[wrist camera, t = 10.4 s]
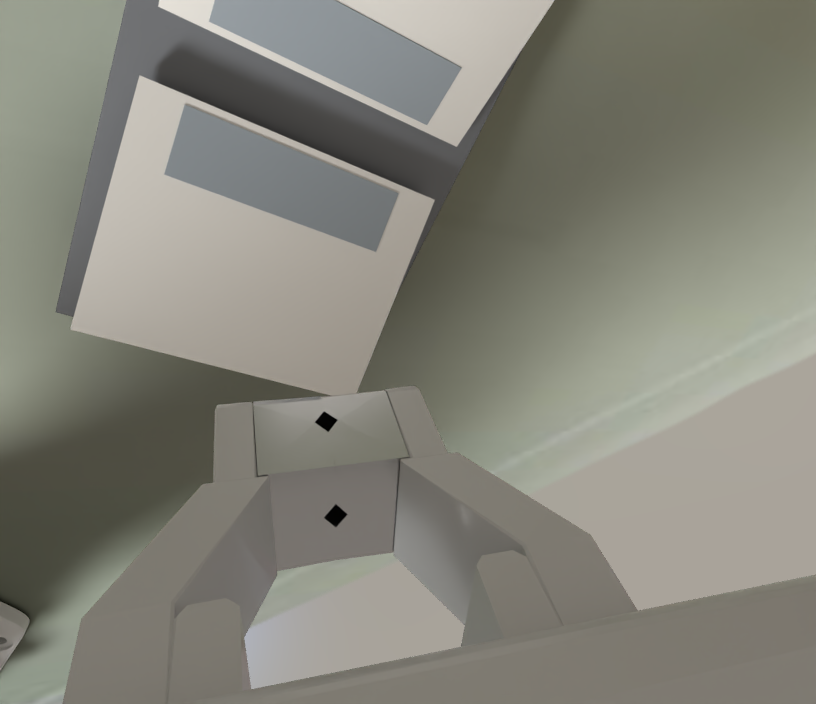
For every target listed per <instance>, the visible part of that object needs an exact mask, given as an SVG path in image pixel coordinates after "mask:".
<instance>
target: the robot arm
mask: <svg viewBox="0 0 816 704" xmlns="http://www.w3.org/2000/svg"><path fill="white" fill-rule="evenodd" d="M253 409H254V412H253ZM392 552H394V556H395V557H396V558H397V559H398V560H399V561H400V562H401V563H402V564H403V565H404V566H405V567H406V568H407V569H408V570H409V571H410V572H411V573H412V574H413V575H414V576H415V577H416V578H417V579H418V580H419V581H420V582H421V583H422V584H423V585H425V587H426V588H427V589H429V591H430V592H432V594H433V595H435V597H436V598H437V599H438V600H439V601H441V602H442V603H443V604H444V605H445V606H446V607H447V608H448V609H449V610H450V611H451V612H452V613H453V614H454V615H455V616H456V617H457V618H458V619H459V620H460V621H461V622H462V623H463V624H464V625H465V628H464V633H463V639H462V644H461V647H459V648H453V649H449V650H444V651H439V652H434V653H429V654H424V655H419V656H414V657H409V658H404V659H400V660H394V661H389V662H384V663H379V664H375V665H370V666H365V667H360V668H355V669H350V670H345V671H340V672H335V673H330V674H326V675H320V676H315V677H310V678H306V679H300V680H295V681H291V682H286V683H281V684H276V685H271V686H266V687H261V688H256V689H251V685H250V677H249V670H248V663H247V655H246V648H245V640H244V637H245V635H246V633H247V631H248V629H249V627H250V625H251V623H252V622H253V620H254V618H255V616H256V614H257V612H258V610H259V608H260V606H261V604H262V603H263V601H264V599H265V597H266V595H267V593H268V591H269V589H270V587H271V585H272V584H273V582H274V580H275V578H276V576H277V571H280V570H285V569H290V568H296V567H301V566H306V565H312V564H317V563H322V562H328V561H333V560H340V559H347V558H355V557H362V556H370V555H377V554H385V553H392ZM28 625H29V618H28V617H27V616H26V615H25V614H24V613H22V612H21V611H19V610H17V609H15V608H13V607H11V606H9V605H7V604H5V603H2V602H0V670H1V669H2V667H3V666H4V664H5V663H6V661H7V660H8V658H9V657H10V655H11V654H12V652H13V651H14V650H15V648H16V647H17V645H18V644H19V642H20V641H21V639H22V638H23V636H24V634H25V632H26V629H27V627H28ZM63 704H816V575H812V576H808V577H802V578H797V579H792V580H787V581H782V582H777V583H772V584H768V585H762V586H757V587H753V588H748V589H743V590H738V591H733V592H728V593H723V594H718V595H713V596H708V597H703V598H699V599H693V600H688V601H683V602H679V603H674V604H669V605H664V606H659V607H654V608H649V609H645V610H639V611H638V610H637V609H636V607H635V605H634V604H633V602H632V601H631V599H630V597H629V596H628V594H627V593H626V591H625V589H624V588H623V586H622V584H621V583H620V581H619V579H618V578H617V576H616V575H615V573H614V572H613V570H612V568H611V567H610V565H609V563H608V562H607V560H606V558H605V557H604V555H603V554H602V552H601V550H600V549H599V547H598V546H597V544H596V542H595V541H594V539H593V538H592V536H591V535H590V534H588V533H587V532H585V531H583V530H582V529H580V528H579V527H577V526H575V525H574V524H572V523H571V522H569V521H567V520H566V519H564V518H562V517H561V516H559V515H558V514H556V513H554V512H553V511H551V510H549V509H548V508H546V507H545V506H543V505H542V504H540V503H538V502H537V501H535V500H533V499H532V498H530V497H529V496H527V495H525V494H524V493H522V492H521V491H519V490H517V489H516V488H514V487H513V486H511V485H509V484H508V483H506V482H504V481H503V480H501V479H500V478H498V477H496V476H495V475H493V474H492V473H490V472H488V471H487V470H485V469H483V468H482V467H480V466H479V465H477V464H475V463H474V462H472V461H471V460H469V459H467V458H466V457H464V456H462V455H461V454H459V453H458V452H455V453H448V452H447V450H446V448H445V445H444V443H443V441H442V439H441V436H440V434H439V432H438V430H437V427H436V425H435V423H434V421H433V419H432V416H431V414H430V412H429V410H428V407H427V405H426V403H425V401H424V398H423V396H422V394H421V392H420V389H419V388H418V387H416V386H415V385H414V386H406V387H398V388H390V389H384V391H374V392H364V393H354V394H344V395H334V396H324V397H320V396H318V397H305V398H292V399H279V400H266V401H253V404H252V403H251V402H243V403H232V404H221V405H217V407H216V409H215V427H214V467H213V483H207V484H202V485H201V486H200V487H199V488H198V489H197V490H196V492H195V493H194V494H193V495H192V496H191V497H190V498H189V499H188V501H187V502H186V503H185V504H184V505H183V506H182V507H181V508H180V509H179V511H178V512H177V513H176V514H175V515H174V516H173V517H172V518H171V520H170V521H169V522H168V523H167V524H166V525H165V526H164V527H163V528H162V530H161V531H160V532H159V533H158V534H157V535H156V536H155V537H154V538H153V540H152V541H151V542H150V543H149V544H148V545H147V546H146V547H145V549H144V550H143V551H142V552H141V553H140V554H139V555H138V556H137V557H136V559H135V560H134V561H133V562H132V563H131V564H130V565H129V566H128V568H127V569H126V570H125V571H124V572H123V573H122V574H121V575H120V576H119V578H118V579H117V580H116V581H115V582H114V583H113V584H112V585H111V586H110V588H109V589H108V590H107V591H106V592H105V593H104V594H103V595H102V597H101V598H100V599H99V600H98V601H97V602H96V603H95V604H94V605H93V607H92V608H91V609H90V610H89V611H88V612H87V613H86V614H85V616H84V617H83V618H82V619H81V623H80V627H79V632H78V636H77V641H76V645H75V650H74V654H73V659H72V663H71V668H70V672H69V677H68V681H67V686H66V690H65V695H64V699H63Z"/></svg>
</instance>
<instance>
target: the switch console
mask: <svg viewBox="0 0 816 704" xmlns="http://www.w3.org/2000/svg"><path fill="white" fill-rule="evenodd" d="M158 5H159V0H127V1H126V5H125V10H124V14H123V18H122V23H121V27H120V32H119V36H118V40H117V45H116V49H115V54H114V58H113V62H112V67H111V71H110V75H109V80H108V84H107V89H106V93H105V97H104V102H103V106H102V111H101V115H100V119H99V124H98V128H97V132H96V137H95V141H94V146H93V150H92V154H91V159H90V163H89V167H88V172H87V176H86V181H85V185H84V189H83V194H82V198H81V203H80V207H79V211H78V216H77V220H76V224H75V229H74V233H73V238H72V242H71V246H70V251H69V255H68V259H67V264H66V268H65V273H64V277H63V281H62V286H61V290H60V295H59V299H58V303H57V308H56V312H57V313H61V314H65V315H69V316H72V317H74V314H75V310H76V306H77V303H78V299H79V295H80V292H81V288H82V284H83V281H84V277H85V273H86V270H87V266H88V262H89V259H90V255H91V251H92V248H93V244H94V240H95V237H96V233H97V229H98V226H99V222H100V218H101V215H102V211H103V207H104V204H105V200H106V196H107V193H108V189H109V185H110V182H111V178H112V174H113V171H114V167H115V163H116V160H117V156H118V152H119V149H120V145H121V141H122V138H123V134H124V130H125V127H126V123H127V119H128V116H129V112H130V108H131V105H132V101H133V97H134V94H135V90H136V86H137V83H138V79H139V75H140V76H143V77H145V78H147V79H150V80H152V81H154V82H157V83H159V84H162V85H164V86H166V87H169V88H171V89H173V90H176V91H178V92H180V93H183V94H185V95H188V96H190V97H192V98H195V99H197V100H199V101H202V102H204V103H207V104H209V105H211V106H214V107H216V108H218V109H221V110H223V111H226V112H228V113H230V114H233V115H235V116H237V117H240V118H242V119H244V120H247V121H249V122H252V123H254V124H256V125H259V126H261V127H263V128H266V129H268V130H271V131H273V132H275V133H278V134H280V135H282V136H285V137H287V138H289V139H292V140H294V141H297V142H299V143H301V144H304V145H306V146H308V147H311V148H313V149H316V150H318V151H320V152H323V153H325V154H327V155H330V156H332V157H335V158H337V159H339V160H342V161H344V162H346V163H349V164H351V165H353V166H356V167H358V168H361V169H363V170H365V171H368V172H370V173H372V174H375V175H377V176H380V177H382V178H384V179H387V180H389V181H391V182H394V183H396V184H398V185H401V186H403V187H406V188H408V189H410V190H413V191H415V192H417V193H420V194H422V195H425V196H427V197H429V198H432V199H434V200H435V201H434V203H433V206H432V208H431V211H430V213H429V216H428V218H427V221H426V223H425V226H424V228H423V231H422V233H421V236H420V238H419V240H418V243H417V245H416V248H415V250H414V253H413V255H412V258H411V260H410V263H409V265H408V268H407V270H406V273H405V275H404V277H403V280H402V282H401V285H402V283H403V281H404V279H405V277H406V275H407V273H408V272H409V270H410V268H411V266H412V264H413V262H414V260H415V258H416V256H417V254H418V252H419V250H420V248H421V246H422V244H423V242H424V240H425V238H426V236H427V234H428V232H429V231H430V229H431V227H432V225H433V223H434V221H435V219H436V217H437V215H438V213H439V211H440V209H441V207H442V205H443V203H444V201H445V199H446V197H447V195H448V193H449V192H450V190H451V188H452V186H453V184H454V182H455V180H456V178H457V176H458V174H459V172H460V170H461V168H462V166H463V164H464V162H465V160H466V158H467V156H468V154H469V152H470V151H471V149H472V147H473V145H474V143H475V141H476V139H477V137H478V135H479V133H480V131H481V129H482V127H483V125H484V123H485V121H486V119H487V117H488V115H489V113H490V111H491V110H492V108H493V106H494V104H495V102H496V100H497V98H498V96H499V94H500V92H501V90H502V88H503V86H504V84H505V82H506V80H507V78H508V76H509V74H510V72H511V70H512V69H513V67H514V65H515V63H516V61H517V59H518V57H519V55H520V53H521V51H522V50H521V51H520V53H519V54H518V56H517V57H516V59H515V60H514V62H513V63H512V65H511V66H510V68H509V69H508V71H507V72H506V74H505V75H504V77H503V78H502V80H501V81H500V83H499V84H498V86H497V87H496V89H495V90H494V92H493V93H492V95H491V96H490V98H489V99H488V101H487V102H486V104H485V105H484V107H483V108H482V110H481V111H480V113H479V114H478V116H477V117H476V119H475V120H474V122H473V123H472V125H471V126H470V128H469V129H468V131H467V132H466V134H465V135H464V137H463V138H462V140H461V141H460V143H459V144H458V146H457V147H456V146H454V145H452V144H449V143H447V142H445V141H443V140H441V139H439V138H437V137H435V136H432V135H430V134H428V133H426V132H424V131H422V130H420V129H418V128H415V127H413V126H411V125H409V124H407V123H405V122H403V121H401V120H398V119H396V118H394V117H392V116H390V115H388V114H386V113H384V112H381V111H379V110H377V109H375V108H373V107H371V106H369V105H366V104H364V103H362V102H360V101H358V100H356V99H354V98H352V97H349V96H347V95H345V94H343V93H341V92H339V91H337V90H335V89H332V88H330V87H328V86H326V85H324V84H322V83H320V82H318V81H315V80H313V79H311V78H309V77H307V76H305V75H303V74H301V73H298V72H296V71H294V70H292V69H290V68H288V67H286V66H284V65H281V64H279V63H277V62H275V61H273V60H271V59H269V58H267V57H264V56H262V55H260V54H258V53H256V52H254V51H252V50H250V49H247V48H245V47H243V46H241V45H239V44H237V43H235V42H232V41H230V40H228V39H226V38H224V37H222V36H220V35H218V34H215V33H213V32H211V31H209V30H207V29H205V28H203V27H201V26H198V25H196V24H194V23H192V22H190V21H188V20H186V19H184V18H181V17H179V16H177V15H175V14H173V13H171V12H169V11H167V10H164V9H162V8H160V7H158ZM522 49H523V48H522ZM401 285H400V287H401ZM400 287H399V289H400ZM398 291H399V290H398ZM397 293H398V292H397Z"/></svg>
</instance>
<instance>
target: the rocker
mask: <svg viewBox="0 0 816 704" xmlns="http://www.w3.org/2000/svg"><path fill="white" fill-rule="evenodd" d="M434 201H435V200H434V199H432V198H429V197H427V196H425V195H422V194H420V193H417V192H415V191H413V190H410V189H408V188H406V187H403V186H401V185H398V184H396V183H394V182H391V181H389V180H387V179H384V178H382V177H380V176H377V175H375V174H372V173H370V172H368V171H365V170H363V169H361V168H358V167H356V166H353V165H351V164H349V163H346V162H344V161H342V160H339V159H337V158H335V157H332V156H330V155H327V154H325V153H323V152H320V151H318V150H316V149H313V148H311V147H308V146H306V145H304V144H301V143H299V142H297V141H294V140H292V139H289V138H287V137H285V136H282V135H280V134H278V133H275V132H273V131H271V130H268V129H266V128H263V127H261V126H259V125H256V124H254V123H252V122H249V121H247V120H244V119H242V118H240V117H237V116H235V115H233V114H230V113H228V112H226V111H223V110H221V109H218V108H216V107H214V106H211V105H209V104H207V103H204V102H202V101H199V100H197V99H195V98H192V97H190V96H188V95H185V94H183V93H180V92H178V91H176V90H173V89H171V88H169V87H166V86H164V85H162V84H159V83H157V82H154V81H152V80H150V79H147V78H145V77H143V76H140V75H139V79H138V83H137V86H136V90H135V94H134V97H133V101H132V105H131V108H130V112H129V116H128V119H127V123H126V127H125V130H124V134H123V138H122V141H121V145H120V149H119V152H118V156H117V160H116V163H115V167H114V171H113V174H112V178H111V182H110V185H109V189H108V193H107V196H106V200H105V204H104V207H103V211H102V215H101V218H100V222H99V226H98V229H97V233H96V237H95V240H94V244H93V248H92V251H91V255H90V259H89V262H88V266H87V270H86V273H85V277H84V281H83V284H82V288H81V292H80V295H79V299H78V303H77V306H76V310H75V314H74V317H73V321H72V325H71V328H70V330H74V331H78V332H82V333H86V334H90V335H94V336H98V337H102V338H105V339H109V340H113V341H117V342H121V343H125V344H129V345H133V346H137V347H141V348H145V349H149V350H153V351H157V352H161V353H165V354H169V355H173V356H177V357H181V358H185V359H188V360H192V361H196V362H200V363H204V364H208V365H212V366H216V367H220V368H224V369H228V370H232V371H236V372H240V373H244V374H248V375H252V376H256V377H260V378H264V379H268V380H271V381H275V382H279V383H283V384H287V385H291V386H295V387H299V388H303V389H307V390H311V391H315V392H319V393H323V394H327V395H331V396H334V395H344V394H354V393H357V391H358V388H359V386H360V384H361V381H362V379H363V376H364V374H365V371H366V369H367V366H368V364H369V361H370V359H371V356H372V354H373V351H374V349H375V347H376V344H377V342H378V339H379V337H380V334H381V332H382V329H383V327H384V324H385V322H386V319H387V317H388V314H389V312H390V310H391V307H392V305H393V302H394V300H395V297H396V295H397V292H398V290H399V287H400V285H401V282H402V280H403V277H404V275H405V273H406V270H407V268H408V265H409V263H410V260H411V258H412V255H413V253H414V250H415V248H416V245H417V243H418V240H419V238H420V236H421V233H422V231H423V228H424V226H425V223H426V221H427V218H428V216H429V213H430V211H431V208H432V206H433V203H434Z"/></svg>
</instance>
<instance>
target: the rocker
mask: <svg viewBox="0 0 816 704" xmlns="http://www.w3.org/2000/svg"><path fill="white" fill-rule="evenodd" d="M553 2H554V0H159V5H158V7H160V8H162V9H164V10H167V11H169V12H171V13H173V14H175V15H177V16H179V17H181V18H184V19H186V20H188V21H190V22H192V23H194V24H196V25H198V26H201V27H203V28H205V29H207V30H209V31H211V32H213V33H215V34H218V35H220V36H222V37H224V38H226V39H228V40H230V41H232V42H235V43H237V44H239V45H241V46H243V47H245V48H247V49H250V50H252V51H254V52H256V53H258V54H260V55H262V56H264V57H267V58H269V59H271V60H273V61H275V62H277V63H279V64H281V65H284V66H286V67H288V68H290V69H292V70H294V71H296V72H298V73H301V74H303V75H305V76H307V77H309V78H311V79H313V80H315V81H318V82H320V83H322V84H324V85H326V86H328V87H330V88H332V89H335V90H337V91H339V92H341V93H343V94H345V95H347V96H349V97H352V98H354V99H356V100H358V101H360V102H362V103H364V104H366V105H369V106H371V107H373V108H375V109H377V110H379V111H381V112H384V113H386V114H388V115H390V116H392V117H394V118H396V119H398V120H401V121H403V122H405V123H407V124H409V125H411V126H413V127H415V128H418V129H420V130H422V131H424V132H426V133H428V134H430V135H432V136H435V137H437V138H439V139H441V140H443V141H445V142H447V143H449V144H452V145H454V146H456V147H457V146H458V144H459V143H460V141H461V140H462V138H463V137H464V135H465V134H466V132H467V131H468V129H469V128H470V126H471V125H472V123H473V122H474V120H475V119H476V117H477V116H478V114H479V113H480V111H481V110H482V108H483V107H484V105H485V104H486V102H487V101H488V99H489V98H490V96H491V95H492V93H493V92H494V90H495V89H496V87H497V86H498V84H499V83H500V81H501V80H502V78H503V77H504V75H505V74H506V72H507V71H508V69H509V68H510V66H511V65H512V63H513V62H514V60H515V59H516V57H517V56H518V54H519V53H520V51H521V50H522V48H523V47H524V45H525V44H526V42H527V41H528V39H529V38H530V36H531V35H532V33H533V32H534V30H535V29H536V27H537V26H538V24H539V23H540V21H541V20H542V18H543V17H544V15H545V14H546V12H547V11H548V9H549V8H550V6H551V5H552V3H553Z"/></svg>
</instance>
